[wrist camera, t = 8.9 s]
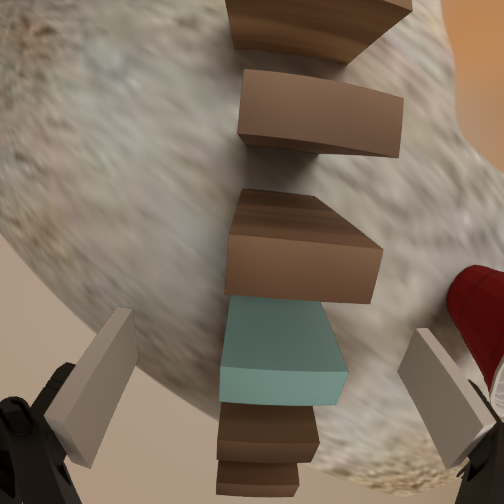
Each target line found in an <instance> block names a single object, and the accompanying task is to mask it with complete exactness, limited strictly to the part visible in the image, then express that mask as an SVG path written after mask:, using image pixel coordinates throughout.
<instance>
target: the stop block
mask: <svg viewBox="0 0 504 504" xmlns="http://www.w3.org/2000/svg"><path fill="white" fill-rule="evenodd" d="M225 3H226V8H227V13H228V18H229V23H230V28H231V33H232V39H233V44H234V48H235V49H251V50H263V51H273V52H281V53H289V54H296V55H303V56H309V57H315V58H321V59H326V60H331V61H336V62H341V63H345V64H349V63H350V62H351V61H352V60H353V59H354V58H356V57H357V56H358V55H359V54H360V53H361V52H363V51H364V50H365V49H366V48H367V47H368V46H370V45H371V44H372V43H373V42H374V41H376V40H377V39H378V38H379V37H381V36H382V35H383V34H384V33H385V32H387V31H388V30H389V29H390V28H392V27H393V26H394V25H395V24H397V23H398V22H399V21H400V20H402V19H403V18H404V17H406V16H407V15H408V14H409V13H411V12H412V11H413V9H412V0H225Z"/></svg>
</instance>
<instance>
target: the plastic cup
mask: <svg viewBox="0 0 504 504" xmlns="http://www.w3.org/2000/svg"><path fill="white" fill-rule="evenodd" d="M447 308H448V311H449V314H450V316H451V319H452V320H453V322H454V323H455V325H456V327H457V328H458V330H459V331H460V333H461V336H462V338H463V340H464V342H465V344H466V345H467V347H468V349H469V351H470V352H471V354H472V356H473V358H474V359H475V361H476V363H477V365H478V367H479V369H480V371H481V373H482V374H483V376H484V381H485V383H486V385H487V387H488V391H489V397H490V404H491V406H492V407H493V409H494V410H495V412H496V413H497V415H499V416H501V417H503V416H504V272H501V271H497V270H494V269H491V268H489V267H485V266H480V265H473V266H470V267H467V268H466V269H464V270H463V271H462V272H461V273H460V274H459V275H458V276H457V277H456V279H455V280H454V282H453V283H452V285H451V288H450V290H449V293H448V296H447Z"/></svg>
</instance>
